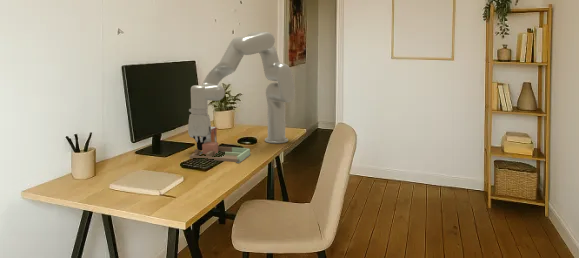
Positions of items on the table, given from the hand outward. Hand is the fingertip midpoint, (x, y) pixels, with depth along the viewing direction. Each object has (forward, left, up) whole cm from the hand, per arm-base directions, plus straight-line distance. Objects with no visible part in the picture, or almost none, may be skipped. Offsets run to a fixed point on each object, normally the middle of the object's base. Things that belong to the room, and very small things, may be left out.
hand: (200, 149), depth 204 cm
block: (0, +5, -2) cm, 5 cm away
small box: (-11, -1, -2) cm, 11 cm away
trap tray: (+2, +11, -2) cm, 12 cm away
